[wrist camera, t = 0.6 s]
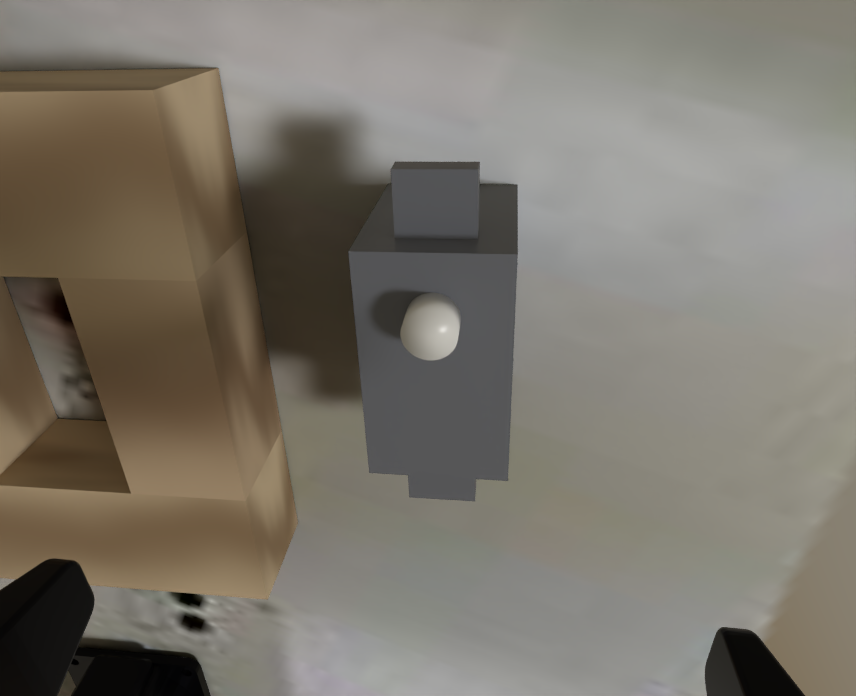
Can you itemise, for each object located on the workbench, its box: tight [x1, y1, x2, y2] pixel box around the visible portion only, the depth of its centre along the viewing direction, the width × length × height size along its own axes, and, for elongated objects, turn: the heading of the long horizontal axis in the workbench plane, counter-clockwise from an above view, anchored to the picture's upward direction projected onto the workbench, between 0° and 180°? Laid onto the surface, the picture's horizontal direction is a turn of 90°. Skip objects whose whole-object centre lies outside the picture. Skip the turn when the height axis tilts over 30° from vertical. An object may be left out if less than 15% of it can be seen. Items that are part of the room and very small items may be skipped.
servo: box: [348, 162, 518, 501], centre depth 17 cm, size 9×4×6 cm, turn 2°
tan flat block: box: [0, 68, 298, 599], centre depth 20 cm, size 16×12×4 cm
